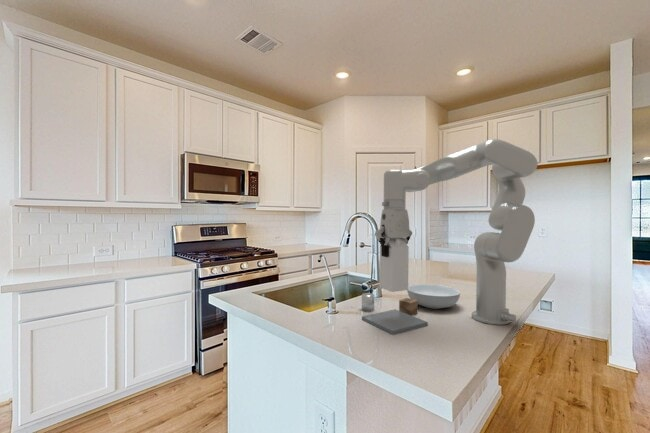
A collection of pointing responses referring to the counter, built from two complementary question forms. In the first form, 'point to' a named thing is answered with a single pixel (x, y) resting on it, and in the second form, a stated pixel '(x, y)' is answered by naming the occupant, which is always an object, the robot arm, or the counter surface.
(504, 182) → the robot arm
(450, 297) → the serving bowl
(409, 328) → the plate
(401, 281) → the milk carton
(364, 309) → the glass jar
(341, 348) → the counter surface
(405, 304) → the walnut block
